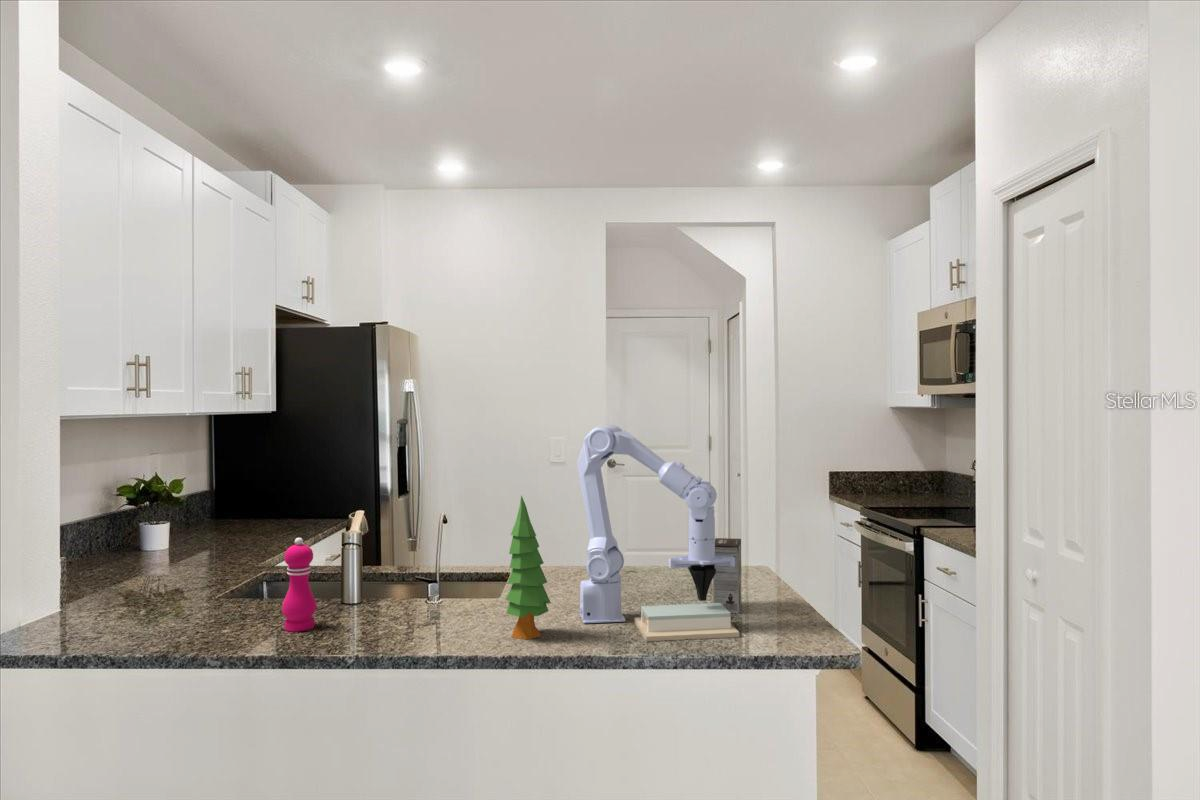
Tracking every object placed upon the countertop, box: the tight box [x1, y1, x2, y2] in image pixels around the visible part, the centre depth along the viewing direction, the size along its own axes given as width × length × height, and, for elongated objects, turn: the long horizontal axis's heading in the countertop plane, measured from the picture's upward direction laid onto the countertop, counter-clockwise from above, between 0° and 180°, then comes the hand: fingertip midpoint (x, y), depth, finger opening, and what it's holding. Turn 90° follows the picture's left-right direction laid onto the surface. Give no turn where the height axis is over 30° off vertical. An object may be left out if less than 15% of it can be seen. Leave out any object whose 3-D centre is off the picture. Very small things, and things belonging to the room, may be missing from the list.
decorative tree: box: [505, 494, 551, 640], centre depth 173 cm, size 10×9×30 cm
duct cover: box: [640, 602, 732, 620], centre depth 177 cm, size 18×8×1 cm, turn 98°
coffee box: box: [712, 537, 742, 615], centre depth 194 cm, size 9×6×16 cm
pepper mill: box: [281, 537, 318, 633], centre depth 179 cm, size 7×7×20 cm
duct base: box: [633, 610, 740, 642], centre depth 177 cm, size 20×14×4 cm
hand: (702, 599), depth 178 cm, fingers closed
